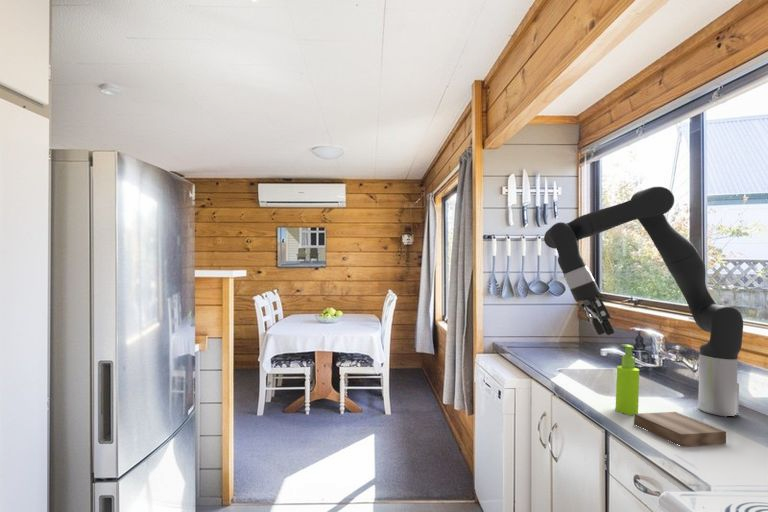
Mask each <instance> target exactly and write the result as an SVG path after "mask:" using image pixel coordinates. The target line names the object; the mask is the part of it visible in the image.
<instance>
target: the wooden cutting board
mask: <svg viewBox="0 0 768 512" xmlns="http://www.w3.org/2000/svg"><path fill="white" fill-rule="evenodd" d="M633 425H634V426H636V425H637V426H636V427H638V426H639V427H638V428H640V427H641V428H640V429H642V428H644V429H646V430H648V431H647V432H649V433H651V434H653V435H655V436H656V437H659V436H660V437H659V438H661V437H662V439H663V438H664V440H666V441H668V440H669V441H668V442H670V441H671V442H670V443H672V442H673V443H672V444H674V443H675V444H674V445H676V444H678V445H680V446H686V447H696V446H698V445H699V447H700V446H712V445H725V444H727V431H725V430H723V429H722V428H721V429H720V428H718V427H717V426H716V427H715V426H713V425H711V424H708V423H705V422H702V421H701V420H700V421H699V420H697V419H694V418H692V417H689V416H687V415H684V414H682V413H679V412H676V411H668V412H666V411H665V412H664V411H662V412H645V413H644V412H642V413H641V412H640V413H639V412H638V414H634V415H633ZM644 429H643V430H644ZM646 430H645V431H646ZM678 445H677V446H678ZM680 446H679V447H680Z"/></svg>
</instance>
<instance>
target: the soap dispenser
mask: <svg viewBox="0 0 768 512" xmlns="http://www.w3.org/2000/svg"><path fill="white" fill-rule="evenodd" d="M620 346H621V347H624V348H625V349H624V350H625V351H624V352H625V353H624V354H623V355H622V356H621V365H617V366H616V384H615V385H616V386H615V411H616V410H617V411H616V412H618V411H619V412H618V413H620V412H621V413H620V414H623V413H624V414H623V415H629V416H634V414H639V400H640V399H639V396H640V395H639V394H640V393H639V392H640V391H639V390H640V369H639V368H637V367H635V365H636V357H635V356H634V355H633V350H634V349H635V347H634V346H633V345H632V344H627V343H621V344H620Z"/></svg>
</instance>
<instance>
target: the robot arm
mask: <svg viewBox="0 0 768 512" xmlns="http://www.w3.org/2000/svg"><path fill="white" fill-rule="evenodd" d="M674 205H675V196H674V194H673V192H672V191H671V190H670V189H669V188H666V187H664V186H652V187H647V188H645V189H642V190H641V189H640V190H639V191H637V192H635V193H634V194H633V195H631V198H630V200H627V201H625V202H622V203H619V204H615V205H611V206H607V207H605V208H601V209H598V210H594V211H591V212H588V213H586V214H585V213H584V214H583V215H581V216H578V217H576V218H574V219H573V220H572V221H569V222H567V223H565V222H561V221H560V222H556V223H555V224H553V225H552V226H550V228H548V229H547V231H546V232H545V234H544V235H543V236H544V237H543V241H544V243H545V245H546V246H548V248H551V249H555V250H556V251H557V255H558V258H557V263H558V265H559V267H560V269H561V272H562V274H563V276H564V278H565V282H566V284H567V286H568V288H569V291H570V292H571V295H572V297H573V299H574V301H575V302H576V303H580V302H583V303H581V304H580V306H581V309H582V310H583V313H584V315H585V317H586V319H587V321H588V322H589V323H590V324H592V326H593V328H594V330H595V332H596V334H597V335H598V336H600V335H603V334H605V335H606V336H610V335H613V334H615V330H614V329H613V326H612V324H611V322H610V319H611V315H610V313H609V311H608V309H607V307H606V305H605V304H604V301H603V299H601V298H597V296H600V295H601V290H600V288H599V287H598V284H597V282H596V280H595V278H594V276H593V274H592V272H591V271H590V269H589V268H588V266H587V264H586V262H585V260H584V258H583V256H582V254H581V251H580V248H579V244H578V241H580V240H582V239H586V238H589V237H593V236H595V235H597V234H601V233H603V232H605V231H608V230H611V229H614V228H616V227H618V226H622V225H624V224H626V223H629V222H632V221H636V220H637V221H638V222H639V224H641V226H642V227H643V229H644V230H645V231H646V233H647V234H648V236H649V237H650V239H651V241H652V243H653V244H654V247H655V248H656V250H657V251H658V252H659V254H660V256H661V258H662V261H663V262H664V265H665V266H666V267H667V269H668V272H669V273H670V274H671V276H672V278H673V279H674V281H675V282H676V285H677V286H678V288H679V290H680V292H681V294H682V295H683V297H684V299H685V301H686V304H687V306H688V308H689V311H690V314H691V316H692V319H693V320H694V322H695V323H696V325H697V326H698V328H699V329H700V330H702V331H704V332H706V333H710V335H709V341H708V342H707V343H704V344H701V345H700V346H699V361H698V362H699V364H698V365H699V368H698V370H699V371H698V400H697V401H698V402H697V403H698V404H697V408H698V410H700V411H703V412H704V413H708V414H711V415H715V416H721V417H727V416H734V415H736V416H737V414H736V413H738V414H739V400H740V399H739V396H740V395H739V393H740V384H739V383H738V358H739V357H738V356H739V353H740V351H741V348H742V344H743V336H744V335H743V333H744V319H743V315H742V313H741V312H740V311H739V310H738V308H735V307H733V306H729V305H722V304H717V303H716V302H715V300H714V299H713V297H712V296H711V294H710V292H709V289H708V288H707V285H706V273H707V272H706V266H705V265H706V264H705V263H704V260H703V258H702V257H701V255H700V253H699V252H698V250H697V249H696V246H695V245H694V244H693V243H692V242H691V241H690V240H688V239H687V237H685V236H684V235H683V234H682V233H680V232H679V231H678V230H676V229H675V227H673V226H672V225H671V223H670V222H669V221H668V220H667V217H666V216H665V214H666V213H668V212H670V211H671V210H672V208H673V207H674ZM734 417H735V416H734Z"/></svg>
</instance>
